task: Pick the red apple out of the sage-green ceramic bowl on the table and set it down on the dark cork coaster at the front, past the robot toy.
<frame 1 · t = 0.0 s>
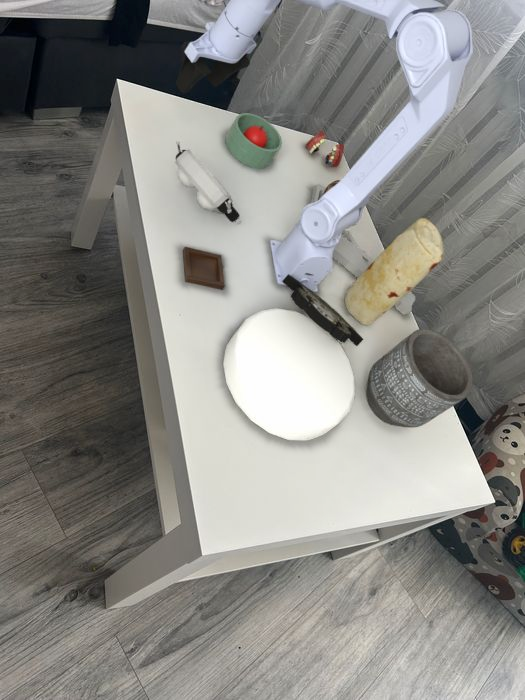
hand: (196, 85, 99), 11 cm above the table, tool pointing down, fingers open, 7 cm apart
robot toy: (196, 199, 94), point 4 cm above the table
coaster: (202, 270, 92), on the table
planter: (386, 402, 96), on the table
bowl: (248, 149, 115), on the table
dentures model: (307, 139, 123), point 2 cm above the table
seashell: (317, 197, 105), point 7 cm above the table, touching toy gun
apple: (249, 147, 114), resting on bowl
container: (283, 379, 88), on the table, touching emblem
toy gun: (372, 228, 119), point 1 cm above the table, touching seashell
emblem: (324, 306, 101), point 1 cm above the table, touching container
food model: (356, 307, 106), on the table
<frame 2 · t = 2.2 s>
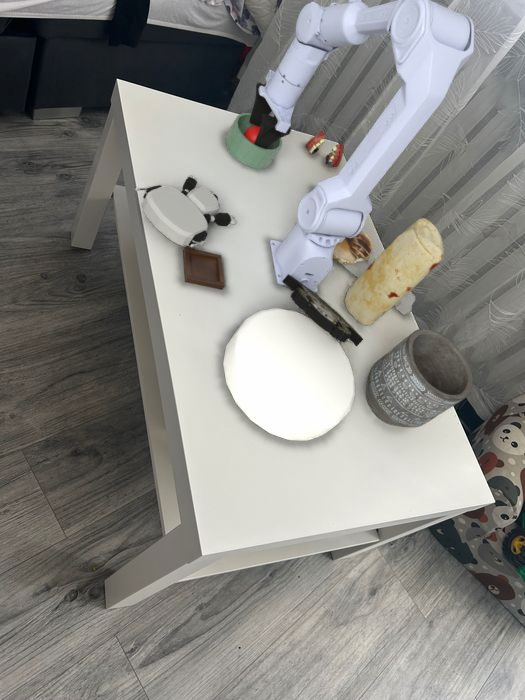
hand: (256, 136, 112), 3 cm above the table, tool pointing down, fingers open, 6 cm apart
robot toy: (182, 221, 96), on the table
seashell: (347, 239, 103), point 7 cm above the table, touching arm, toy gun
everything else where it was.
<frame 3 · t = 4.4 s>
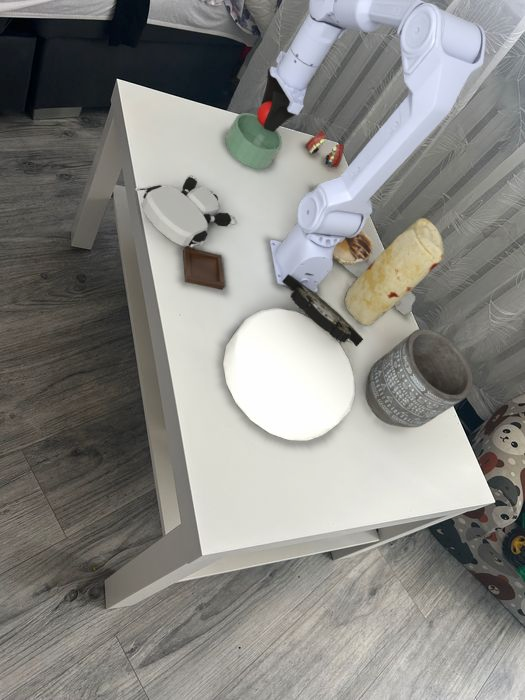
hand: (266, 120, 109), 8 cm above the table, tool pointing down, fingers closed on apple, 4 cm apart
apple: (264, 124, 110), point 7 cm above the table, touching gripper
everything else where it was.
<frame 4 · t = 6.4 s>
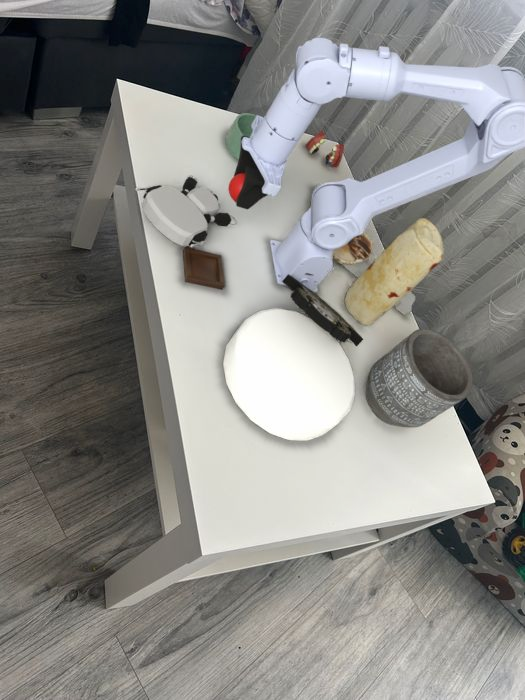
hand: (240, 194, 92), 9 cm above the table, tool pointing down, fingers closed on apple, 4 cm apart
apple: (236, 199, 93), point 8 cm above the table, touching gripper
everything else where it was.
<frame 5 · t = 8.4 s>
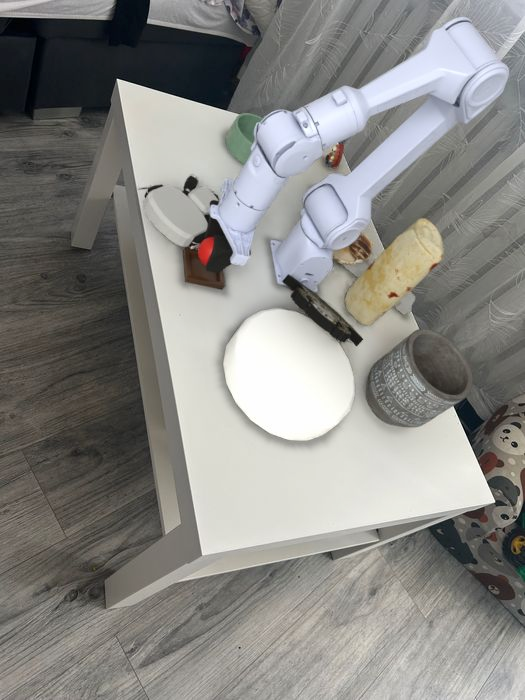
hand: (210, 257, 90), 3 cm above the table, tool pointing down, fingers closed on apple, 4 cm apart
robot toy: (182, 221, 96), on the table, touching gripper
apple: (207, 261, 90), point 2 cm above the table, touching gripper
everything else where it was.
when the fingers open (3 cm above the table, at t = 10.0 s): apple drops 1 cm, resting on coaster.
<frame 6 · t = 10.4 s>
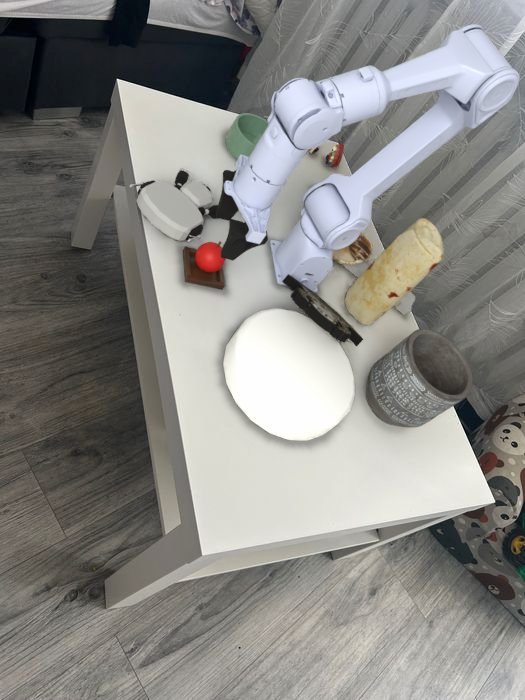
hand: (224, 237, 87), 8 cm above the table, tool pointing down, fingers open, 7 cm apart
robot toy: (176, 215, 96), on the table
apple: (203, 268, 92), resting on coaster, tilted 16°
everything else where it was.
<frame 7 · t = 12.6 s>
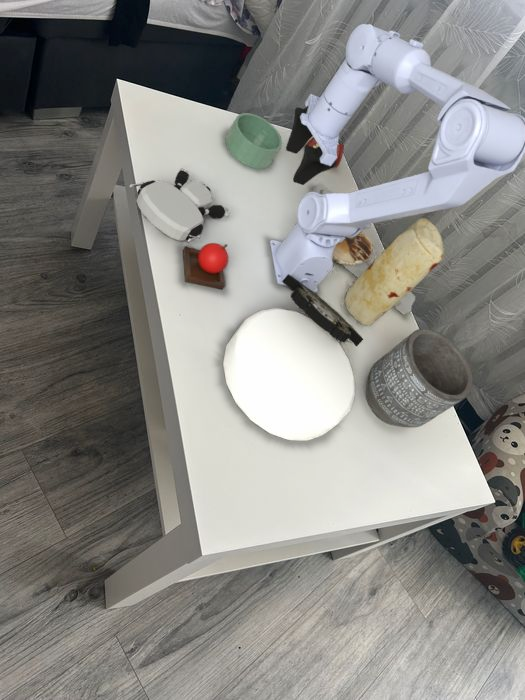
hand: (294, 166, 102), 9 cm above the table, tool pointing down, fingers open, 7 cm apart
apple: (203, 268, 92), resting on coaster, tilted 24°
everything else where it was.
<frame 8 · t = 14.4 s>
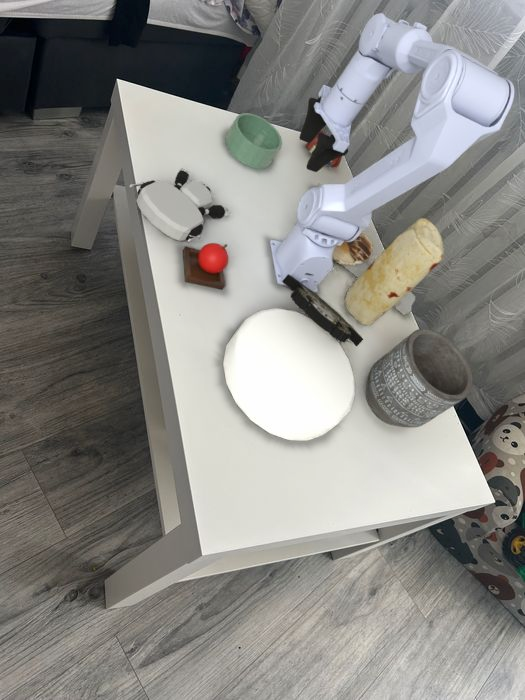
hand: (307, 154, 106), 9 cm above the table, tool pointing down, fingers open, 7 cm apart
nothing on the table moved.
at the end: apple 0.0 cm off-centre on the coaster, point 0.5 cm above the coaster's base; apple touching coaster; the gripper is holding nothing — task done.
